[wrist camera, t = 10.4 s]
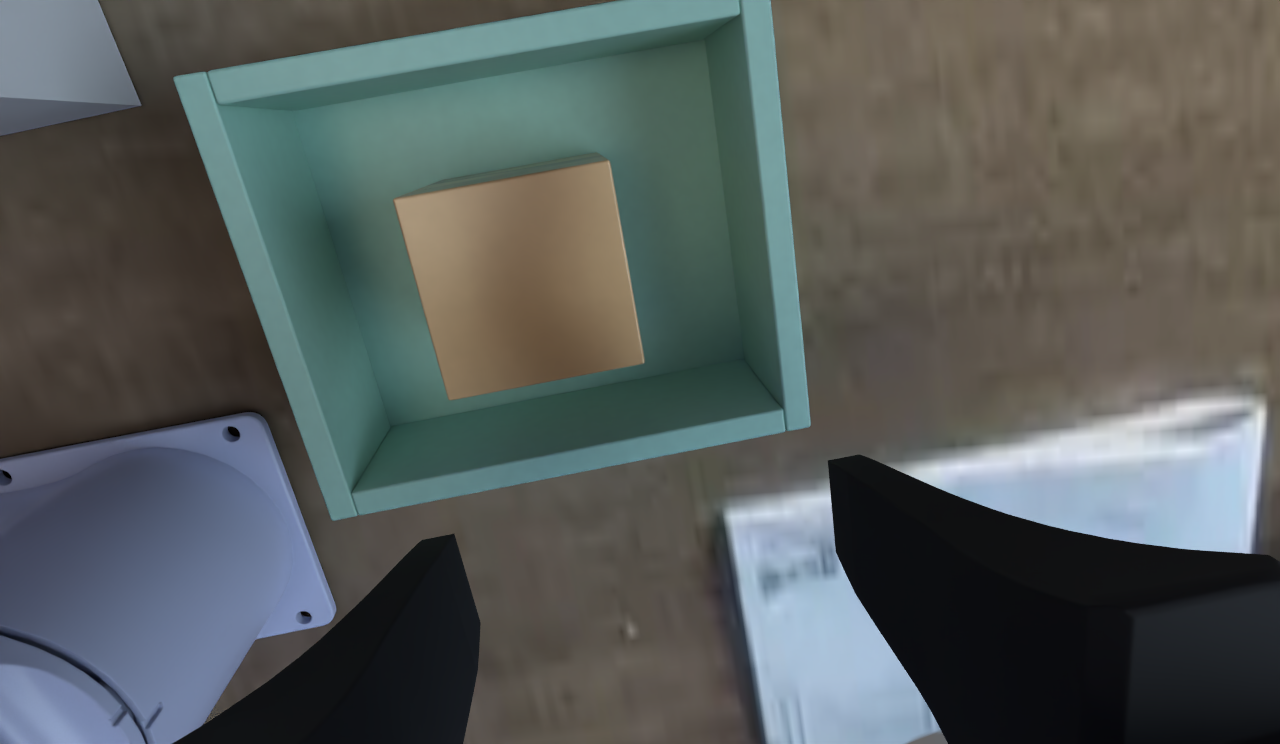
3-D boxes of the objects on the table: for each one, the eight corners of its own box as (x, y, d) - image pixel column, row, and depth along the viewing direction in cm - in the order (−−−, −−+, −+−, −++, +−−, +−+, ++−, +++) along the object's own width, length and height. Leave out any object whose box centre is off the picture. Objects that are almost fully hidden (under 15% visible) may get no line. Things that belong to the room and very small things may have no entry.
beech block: (479, 332, 22) (448, 401, 16) (440, 180, 20) (391, 198, 15) (625, 304, 22) (645, 364, 16) (598, 152, 21) (610, 159, 15)
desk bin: (379, 442, 23) (331, 522, 19) (265, 89, 20) (170, 76, 15) (763, 369, 24) (812, 427, 19) (721, 10, 20) (769, -27, 15)
